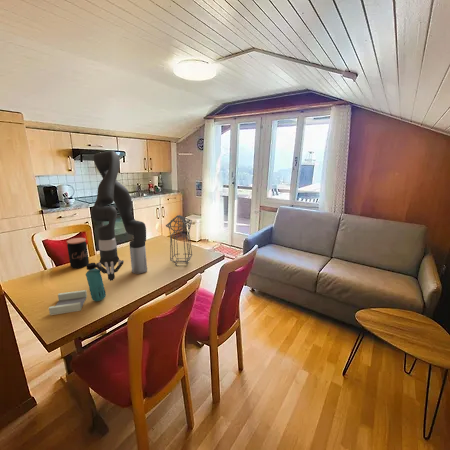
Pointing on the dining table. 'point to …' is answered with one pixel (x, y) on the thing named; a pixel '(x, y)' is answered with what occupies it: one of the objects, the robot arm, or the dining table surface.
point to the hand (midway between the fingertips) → (111, 279)
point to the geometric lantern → (179, 236)
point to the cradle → (69, 302)
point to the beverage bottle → (95, 282)
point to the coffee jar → (77, 253)
